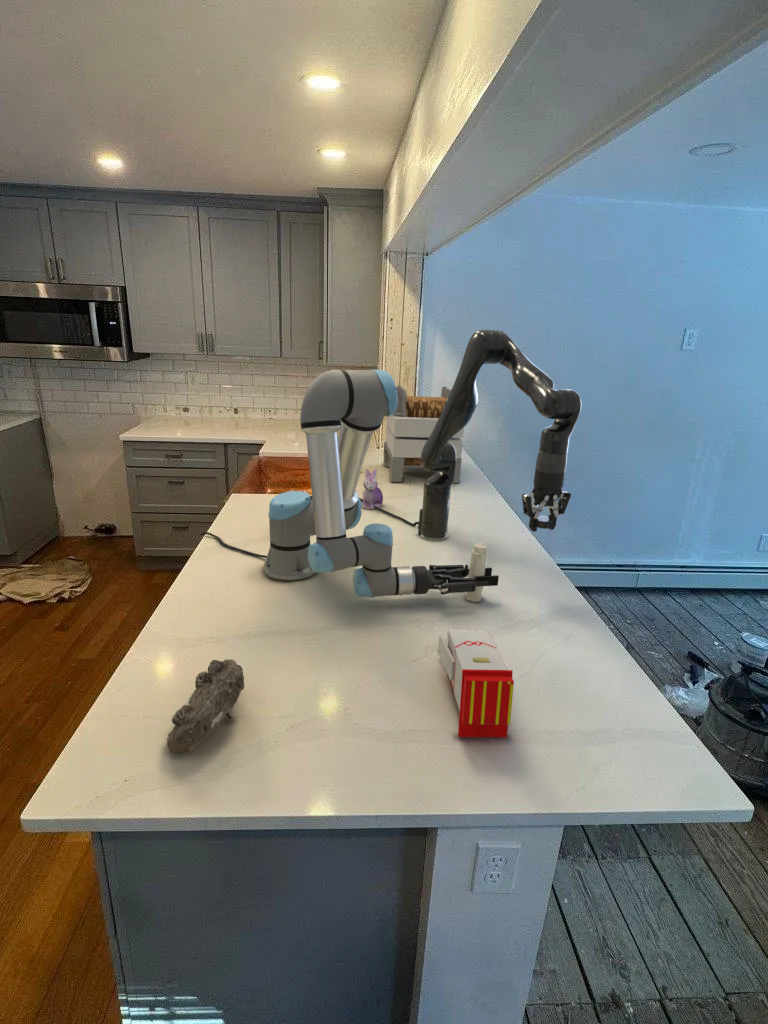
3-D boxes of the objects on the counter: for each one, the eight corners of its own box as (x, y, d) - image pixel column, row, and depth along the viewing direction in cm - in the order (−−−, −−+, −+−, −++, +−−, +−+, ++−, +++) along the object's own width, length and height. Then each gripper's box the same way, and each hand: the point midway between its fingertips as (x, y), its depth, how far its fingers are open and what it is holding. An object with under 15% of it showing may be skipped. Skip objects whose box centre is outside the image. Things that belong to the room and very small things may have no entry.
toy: (488, 613, 130) (523, 677, 101) (484, 667, 133) (517, 744, 104) (435, 612, 130) (455, 676, 101) (432, 666, 133) (451, 743, 103)
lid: (552, 523, 153) (553, 516, 152) (551, 530, 148) (552, 522, 148) (533, 521, 154) (534, 514, 154) (532, 527, 150) (533, 520, 149)
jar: (462, 597, 158) (469, 544, 152) (473, 593, 160) (480, 541, 155) (473, 603, 154) (480, 549, 149) (484, 599, 157) (491, 546, 152)
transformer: (382, 463, 289) (386, 382, 275) (445, 464, 293) (451, 384, 279) (390, 482, 257) (394, 392, 243) (460, 483, 261) (468, 394, 247)
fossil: (192, 660, 117) (244, 628, 112) (224, 691, 120) (276, 661, 115) (142, 746, 98) (202, 712, 93) (182, 779, 101) (242, 748, 96)
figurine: (367, 511, 220) (368, 474, 215) (356, 503, 228) (357, 467, 223) (388, 508, 224) (390, 471, 219) (377, 500, 233) (378, 465, 228)
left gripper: (404, 578, 161) (482, 574, 165) (419, 608, 145) (504, 603, 149) (405, 554, 158) (484, 551, 163) (420, 582, 142) (508, 578, 147)
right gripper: (565, 463, 152) (555, 522, 157) (518, 465, 147) (510, 527, 153) (583, 470, 145) (572, 532, 151) (534, 473, 140) (526, 537, 146)
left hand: (494, 576), depth 156 cm, fingers closed on jar, 4 cm apart
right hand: (541, 529), depth 152 cm, fingers closed on lid, 4 cm apart
